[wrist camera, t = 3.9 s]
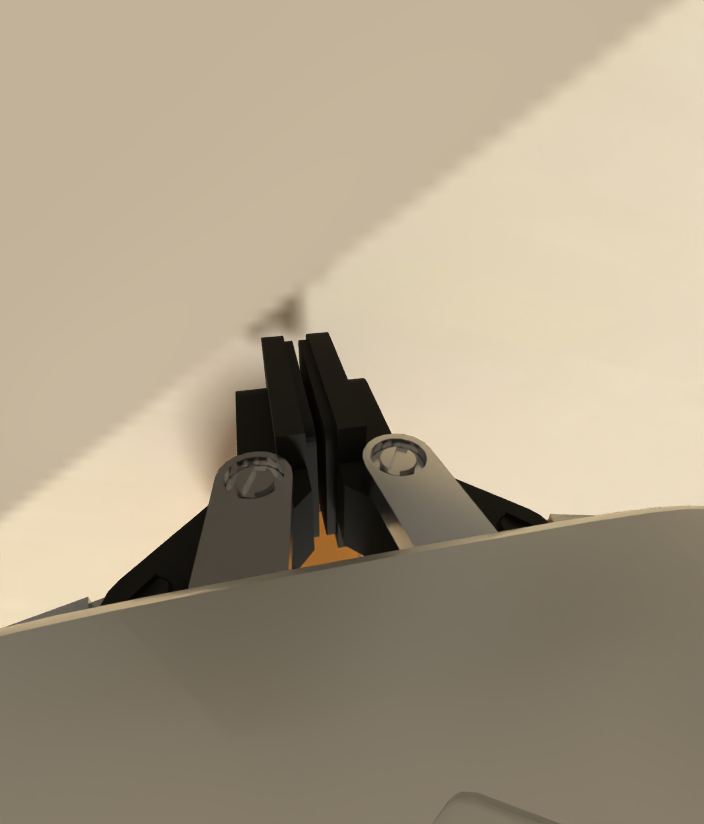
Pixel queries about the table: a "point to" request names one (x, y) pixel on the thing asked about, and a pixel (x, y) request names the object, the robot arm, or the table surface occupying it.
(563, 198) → the table surface
